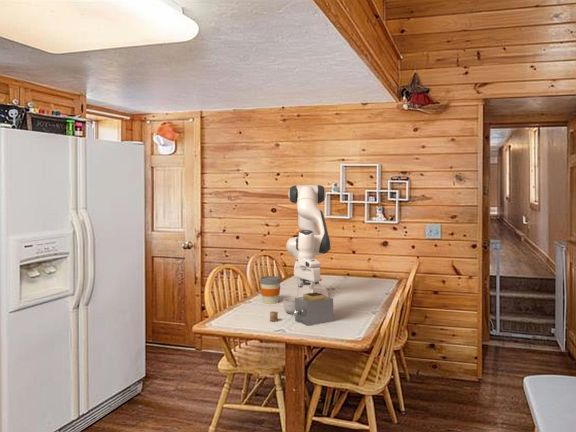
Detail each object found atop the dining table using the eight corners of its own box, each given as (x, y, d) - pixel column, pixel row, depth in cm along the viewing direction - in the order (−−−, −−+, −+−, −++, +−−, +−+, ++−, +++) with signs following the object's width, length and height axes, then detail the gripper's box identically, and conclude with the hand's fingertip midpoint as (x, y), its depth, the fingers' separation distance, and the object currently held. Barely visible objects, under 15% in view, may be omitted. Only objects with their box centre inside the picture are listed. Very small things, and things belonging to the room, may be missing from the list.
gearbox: (320, 316, 281) (320, 290, 280) (333, 321, 270) (333, 294, 269) (290, 321, 271) (290, 294, 270) (302, 326, 261) (302, 299, 260)
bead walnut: (275, 319, 275) (275, 311, 274) (279, 321, 271) (279, 312, 271) (268, 320, 273) (268, 312, 272) (272, 322, 269) (272, 313, 269)
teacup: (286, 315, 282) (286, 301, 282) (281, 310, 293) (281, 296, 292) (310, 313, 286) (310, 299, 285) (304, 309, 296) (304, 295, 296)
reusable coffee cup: (281, 300, 319) (281, 276, 317) (279, 305, 306) (279, 280, 305) (261, 299, 320) (261, 275, 319) (258, 304, 307) (258, 279, 306)
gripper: (290, 259, 277) (290, 284, 278) (312, 264, 259) (312, 291, 260) (300, 258, 280) (300, 283, 281) (322, 263, 262) (322, 290, 263)
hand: (306, 287), depth 270 cm, fingers open, 8 cm apart
